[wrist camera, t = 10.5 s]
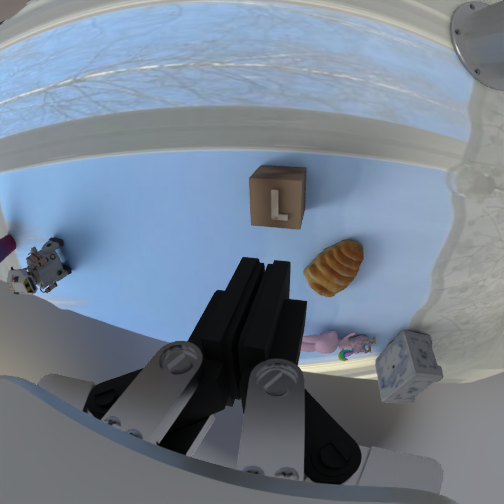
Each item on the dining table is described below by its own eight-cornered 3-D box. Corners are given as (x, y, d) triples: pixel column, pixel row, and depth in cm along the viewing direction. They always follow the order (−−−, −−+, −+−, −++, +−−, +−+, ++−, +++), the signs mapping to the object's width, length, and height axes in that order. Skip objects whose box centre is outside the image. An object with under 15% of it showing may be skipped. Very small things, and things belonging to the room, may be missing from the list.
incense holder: (406, 366, 50) (410, 409, 42) (373, 356, 51) (374, 401, 42) (436, 335, 45) (446, 380, 36) (402, 323, 45) (409, 370, 36)
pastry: (339, 226, 40) (339, 239, 37) (374, 252, 40) (377, 266, 37) (300, 269, 45) (297, 284, 42) (334, 291, 46) (334, 307, 42)
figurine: (39, 232, 58) (-3, 265, 45) (67, 240, 56) (21, 278, 43) (49, 263, 63) (11, 297, 50) (77, 273, 61) (36, 312, 48)
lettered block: (306, 167, 37) (301, 181, 31) (304, 210, 40) (299, 230, 35) (260, 165, 38) (248, 178, 33) (261, 206, 41) (250, 226, 36)
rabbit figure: (376, 324, 48) (294, 319, 49) (383, 349, 43) (295, 346, 44) (365, 346, 52) (289, 343, 52) (370, 371, 47) (289, 369, 47)
